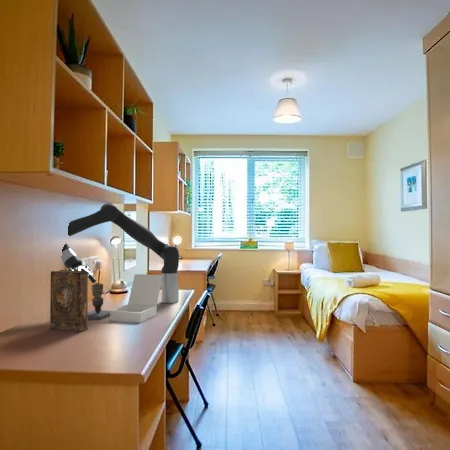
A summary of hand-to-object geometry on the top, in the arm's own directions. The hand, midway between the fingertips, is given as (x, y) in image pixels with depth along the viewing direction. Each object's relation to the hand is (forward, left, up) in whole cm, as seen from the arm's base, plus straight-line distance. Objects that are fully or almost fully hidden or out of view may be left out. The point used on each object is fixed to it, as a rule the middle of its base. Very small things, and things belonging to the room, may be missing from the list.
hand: (89, 283), depth 180 cm
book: (+18, +16, -16) cm, 29 cm away
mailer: (-15, +19, -16) cm, 29 cm away
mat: (-2, +4, -16) cm, 17 cm away
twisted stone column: (-2, +4, -15) cm, 15 cm away
